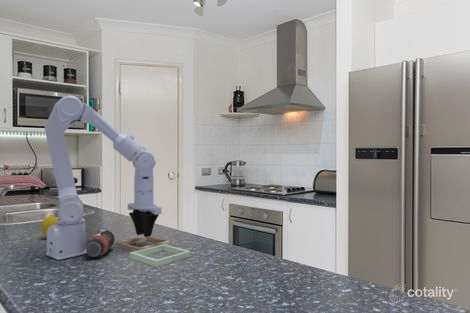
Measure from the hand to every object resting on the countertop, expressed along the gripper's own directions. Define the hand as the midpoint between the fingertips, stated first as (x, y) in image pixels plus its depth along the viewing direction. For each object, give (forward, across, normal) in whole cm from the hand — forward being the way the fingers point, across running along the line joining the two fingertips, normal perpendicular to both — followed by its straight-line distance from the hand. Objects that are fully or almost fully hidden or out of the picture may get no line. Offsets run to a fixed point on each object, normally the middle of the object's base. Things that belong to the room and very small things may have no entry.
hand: (143, 235), depth 107 cm
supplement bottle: (0, +7, +9) cm, 11 cm away
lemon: (+4, +32, +14) cm, 35 cm away
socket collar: (+3, 0, 0) cm, 3 cm away
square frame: (+3, -13, +4) cm, 14 cm away
